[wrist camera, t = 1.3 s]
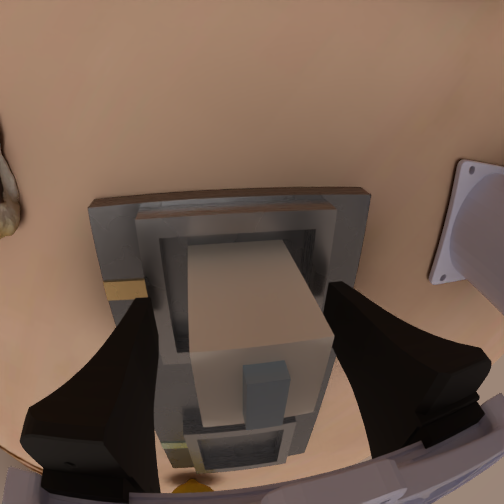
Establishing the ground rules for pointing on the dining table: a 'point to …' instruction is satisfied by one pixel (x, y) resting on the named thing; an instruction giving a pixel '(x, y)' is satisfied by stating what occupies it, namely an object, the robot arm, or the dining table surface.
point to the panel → (176, 294)
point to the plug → (253, 334)
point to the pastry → (8, 201)
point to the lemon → (192, 487)
